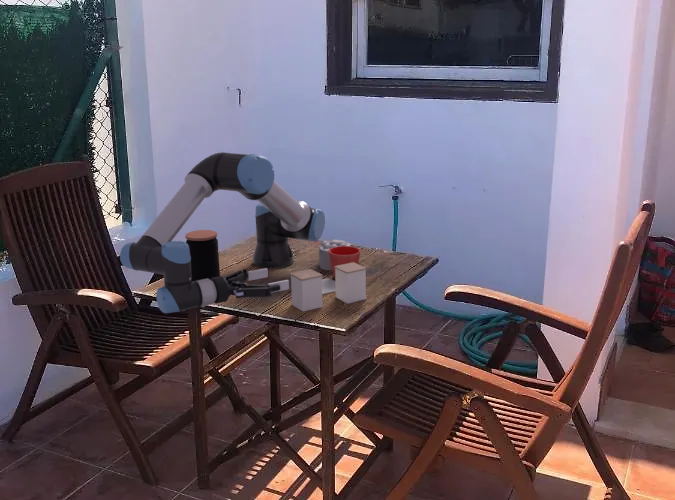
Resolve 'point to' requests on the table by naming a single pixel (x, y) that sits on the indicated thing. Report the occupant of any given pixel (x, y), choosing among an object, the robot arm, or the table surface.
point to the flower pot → (343, 256)
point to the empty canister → (350, 282)
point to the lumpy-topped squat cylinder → (324, 252)
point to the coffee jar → (203, 254)
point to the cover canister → (306, 289)
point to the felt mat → (328, 286)
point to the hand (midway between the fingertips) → (277, 278)
